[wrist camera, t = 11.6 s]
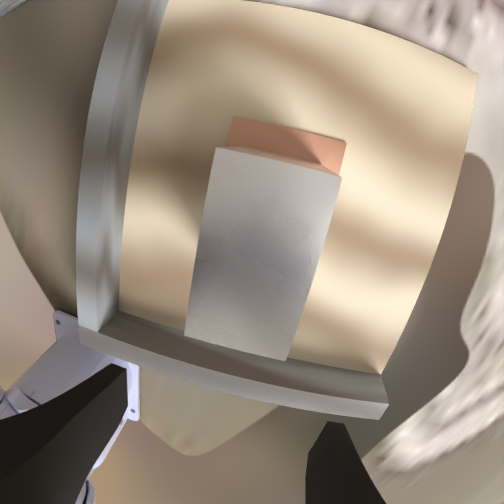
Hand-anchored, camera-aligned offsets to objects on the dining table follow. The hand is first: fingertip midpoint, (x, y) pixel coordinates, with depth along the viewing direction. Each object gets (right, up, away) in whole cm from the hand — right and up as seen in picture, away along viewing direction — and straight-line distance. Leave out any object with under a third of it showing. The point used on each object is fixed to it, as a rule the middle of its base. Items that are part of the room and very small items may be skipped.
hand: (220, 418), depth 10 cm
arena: (+2, +9, +8) cm, 12 cm away
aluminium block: (+2, +7, +7) cm, 11 cm away
